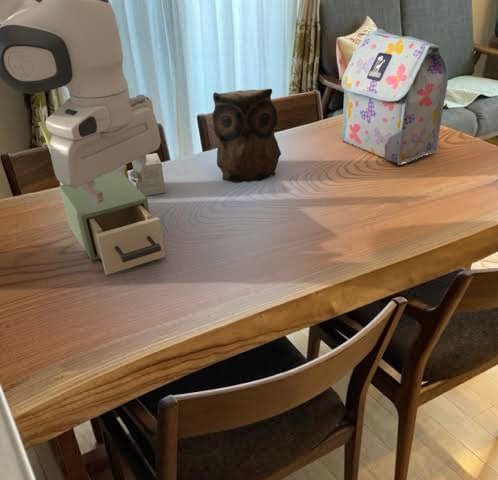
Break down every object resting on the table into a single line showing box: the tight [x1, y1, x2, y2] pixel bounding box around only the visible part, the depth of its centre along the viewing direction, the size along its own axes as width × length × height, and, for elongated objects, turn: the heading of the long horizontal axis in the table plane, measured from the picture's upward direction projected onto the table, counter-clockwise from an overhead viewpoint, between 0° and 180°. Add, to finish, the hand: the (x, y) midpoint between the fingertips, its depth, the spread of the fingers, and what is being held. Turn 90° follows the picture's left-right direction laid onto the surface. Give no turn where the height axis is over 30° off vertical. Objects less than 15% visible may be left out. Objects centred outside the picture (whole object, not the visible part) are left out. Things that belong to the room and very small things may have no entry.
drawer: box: [86, 204, 166, 276], centre depth 99 cm, size 18×11×8 cm, turn 31°
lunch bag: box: [340, 28, 449, 166], centre depth 131 cm, size 22×17×26 cm
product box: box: [131, 152, 166, 197], centre depth 122 cm, size 6×6×7 cm
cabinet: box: [58, 171, 150, 262], centre depth 106 cm, size 15×13×10 cm
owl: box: [212, 88, 282, 184], centre depth 123 cm, size 13×13×20 cm
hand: (118, 191), depth 92 cm, fingers open, 8 cm apart
